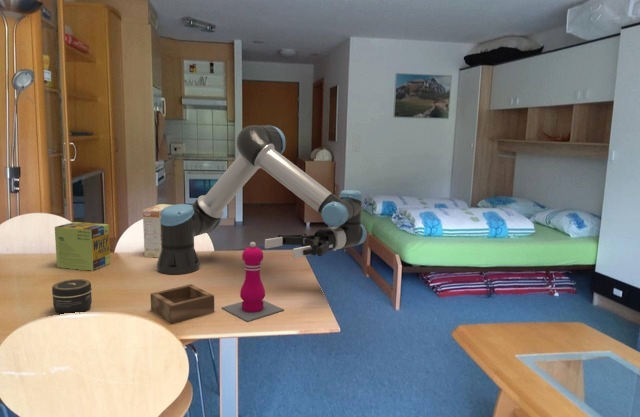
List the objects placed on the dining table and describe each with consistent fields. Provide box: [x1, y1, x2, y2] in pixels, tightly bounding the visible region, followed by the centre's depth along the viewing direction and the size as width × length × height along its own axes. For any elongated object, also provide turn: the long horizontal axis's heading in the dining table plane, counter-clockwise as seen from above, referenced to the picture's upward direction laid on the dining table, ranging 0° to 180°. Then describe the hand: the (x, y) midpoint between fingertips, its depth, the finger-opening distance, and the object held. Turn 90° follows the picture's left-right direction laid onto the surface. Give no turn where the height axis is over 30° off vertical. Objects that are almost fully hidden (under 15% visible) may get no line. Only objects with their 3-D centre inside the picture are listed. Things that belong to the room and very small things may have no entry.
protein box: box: [54, 221, 112, 272], centre depth 179 cm, size 10×15×16 cm
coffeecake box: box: [142, 203, 172, 259], centre depth 200 cm, size 15×7×20 cm, turn 171°
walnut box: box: [150, 283, 215, 325], centre depth 139 cm, size 13×13×5 cm
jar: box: [51, 278, 93, 315], centre depth 138 cm, size 10×10×8 cm
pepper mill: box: [239, 241, 266, 312], centre depth 140 cm, size 7×7×20 cm
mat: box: [221, 299, 285, 323], centre depth 142 cm, size 13×13×1 cm
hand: (279, 248), depth 146 cm, fingers open, 13 cm apart
